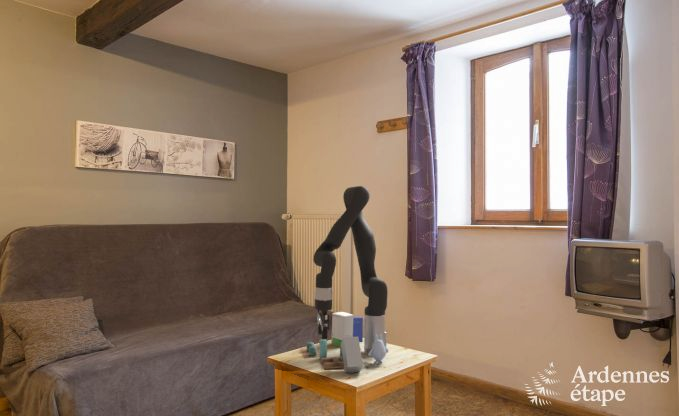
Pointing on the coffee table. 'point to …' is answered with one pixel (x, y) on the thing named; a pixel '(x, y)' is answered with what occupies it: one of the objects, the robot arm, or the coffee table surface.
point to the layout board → (310, 351)
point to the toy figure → (378, 350)
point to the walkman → (358, 328)
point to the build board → (333, 361)
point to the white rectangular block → (351, 354)
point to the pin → (322, 349)
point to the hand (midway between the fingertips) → (322, 336)
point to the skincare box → (341, 327)
